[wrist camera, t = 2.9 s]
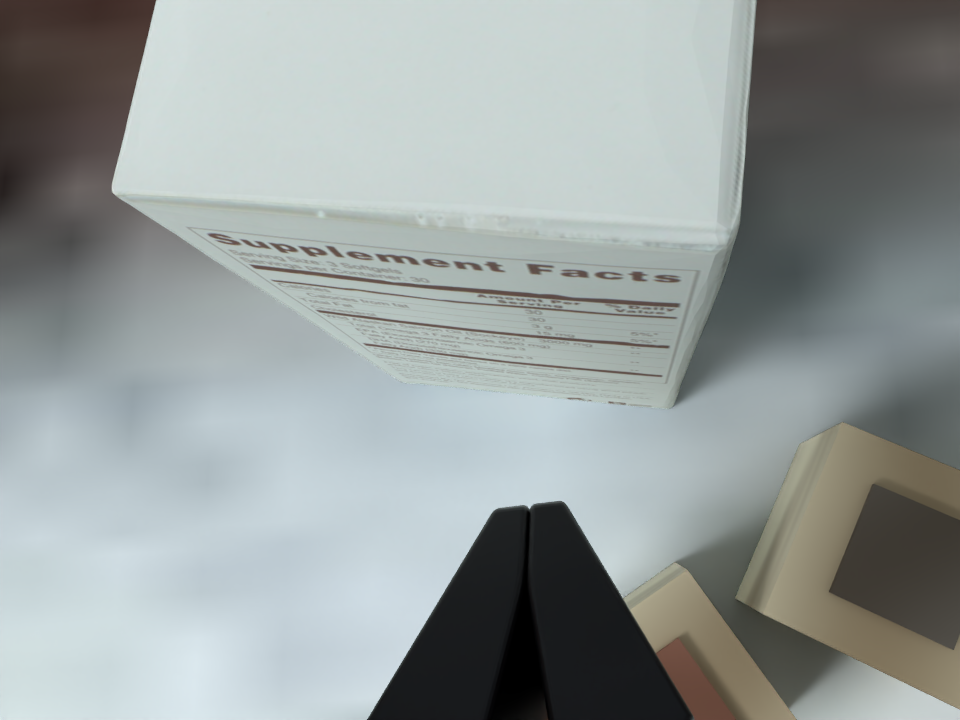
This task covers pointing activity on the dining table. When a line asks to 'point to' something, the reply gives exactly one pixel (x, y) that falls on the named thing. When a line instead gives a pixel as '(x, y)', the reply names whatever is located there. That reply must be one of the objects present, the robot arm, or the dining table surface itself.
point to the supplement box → (460, 176)
